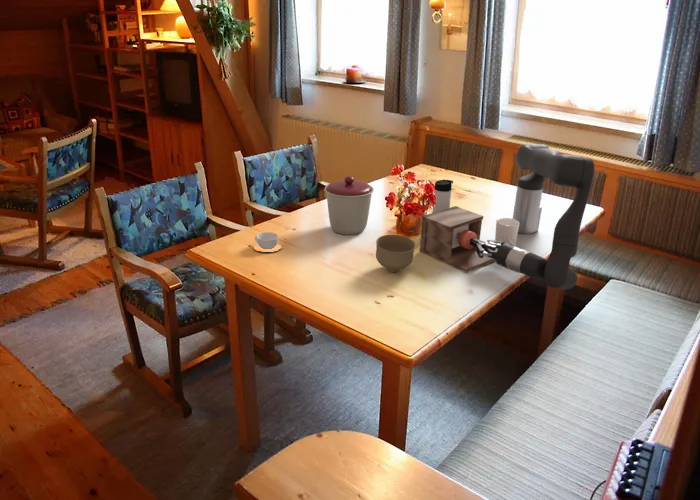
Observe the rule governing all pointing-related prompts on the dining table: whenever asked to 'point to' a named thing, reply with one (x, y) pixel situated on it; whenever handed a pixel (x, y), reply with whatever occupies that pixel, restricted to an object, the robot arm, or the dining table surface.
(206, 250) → the dining table surface
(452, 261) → the cabinet
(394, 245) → the bowl
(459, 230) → the drawer with red knob
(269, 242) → the teacup
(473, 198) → the dining table surface
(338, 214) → the canister
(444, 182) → the travel mug
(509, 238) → the white cup
